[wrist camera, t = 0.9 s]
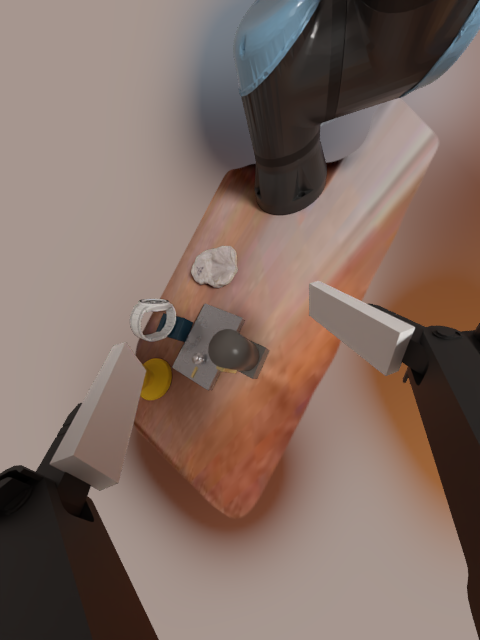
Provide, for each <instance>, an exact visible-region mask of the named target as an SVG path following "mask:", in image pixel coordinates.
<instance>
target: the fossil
mask: <svg viewBox="0 0 480 640" xmlns="http://www.w3.org/2000/svg"><path fill="white" fill-rule="evenodd" d="M237 271H238V268H237V254H236V252H235V250H234V249H233V248H232V247H231V246H221V247H218V248H216V249H214V248H213V249H210V250H206V251H204V252H203V253H201V254H200V255H198V256H197V257H196V260H195V263H194V264H193V266H192V270H191V274H192V275H193V277H194V280H195V281H196V282H198V283H199V284H200V285H202V284H209V285H211V286H213V287H214V288H215V287H216V288H221V287H223V285H227V284H229V283H230V282H231V281H232V280H233V278H234V276H235V274H236V273H237Z"/></svg>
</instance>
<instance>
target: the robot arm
mask: <svg viewBox="0 0 480 640" xmlns="http://www.w3.org/2000/svg"><path fill="white" fill-rule="evenodd" d="M479 29H480V0H256V1H255V2H254V3H253V5H252V6H251V7H250V8H249V10H248V11H247V13H246V14H245V16H244V17H243V19H242V21H241V23H240V24H239V27H238V29H237V32H236V35H235V39H234V47H233V52H234V61H235V66H236V71H237V77H238V83H239V93H240V95H241V97H242V101H243V106H244V110H245V114H246V119H247V124H248V128H249V132H250V137H251V141H252V145H253V149H254V154H255V159H256V171H255V195H256V199H257V203H258V205H259V206H260V208H261V209H262V210H264V211H266V212H268V213H271V214H276V215H284V214H290V213H294V212H297V211H299V210H301V209H304V208H305V207H307V206H309V205H310V204H311V203H313V202H314V201H315V200H316V199H317V198H318V197H319V196H320V194H321V193H322V191H323V190H324V187H325V184H326V176H327V166H326V162H325V158H324V154H323V150H322V146H321V142H320V124H321V123H323V122H326V121H329V120H331V119H334V118H338V117H341V116H344V115H346V114H350V113H353V112H356V111H359V110H362V109H365V108H368V107H371V106H374V105H378V104H381V103H384V102H387V101H390V100H393V99H397V98H401V97H404V96H406V95H407V94H409V93H411V92H412V91H414V90H417V89H419V88H422V87H424V86H426V85H428V84H430V83H432V82H434V81H435V80H436V79H438V78H439V77H440V76H442V75H443V74H444V73H445V72H446V71H447V70H448V69H449V68H450V67H451V66H452V65H453V64H454V63H455V61H457V59H458V58H459V57H460V55H461V54H462V53H463V52H464V51H465V49H466V48H467V47H468V45H469V44H470V43H471V41H472V40H473V38H474V37H475V36H476V34H477V33H478V31H479ZM309 316H311V317H312V318H313V319H315V320H316V321H317V322H318V323H320V324H321V325H322V326H323V327H325V328H326V329H327V330H328V331H330V332H331V333H332V334H333V335H335V336H336V337H337V338H338V339H340V340H341V341H342V342H343V343H345V344H346V345H347V346H348V347H350V348H351V349H352V350H354V351H355V352H356V353H357V354H359V355H360V356H361V357H362V358H364V359H365V360H366V361H367V362H369V363H370V364H371V365H372V366H374V367H375V368H376V369H377V370H379V371H380V372H381V373H382V374H384V375H385V376H387V375H389V374H392V373H394V372H397V371H399V368H400V366H401V363H402V362H403V363H404V364H406V365H407V366H408V368H407V371H406V373H405V375H404V378H403V382H404V383H405V382H406V381H407V378H409V380H410V384H411V386H412V390H413V393H414V396H415V399H416V402H417V406H418V409H419V412H420V415H421V418H422V421H423V425H424V428H425V431H426V434H427V438H428V441H429V444H430V447H431V450H432V453H433V456H434V460H435V463H436V466H437V469H438V473H439V476H440V479H441V482H442V485H443V489H444V492H445V495H446V498H447V501H448V505H449V508H450V511H451V514H452V518H453V521H454V524H455V527H456V530H457V534H458V537H459V540H460V543H461V546H462V549H463V553H464V556H465V559H466V563H467V567H468V585H467V591H468V600H469V604H470V609H471V613H472V616H473V620H474V623H475V627H476V630H477V634H478V637H479V640H480V323H479V325H478V326H477V328H476V330H473V331H462V332H460V331H458V330H456V329H453V328H449V327H445V326H429V327H424V326H422V325H420V324H417V323H415V322H413V321H411V320H409V319H407V318H405V317H402V316H400V315H398V314H397V315H396V313H394V312H391V311H388V310H387V309H385V308H383V307H381V306H378V305H373V304H366V303H364V302H362V301H360V300H358V299H356V298H354V297H352V296H349V295H347V294H345V293H343V292H341V291H339V290H337V289H335V288H333V287H331V286H329V285H327V284H325V283H322V282H320V281H316V282H313V283H310V284H309ZM145 373H146V370H145V368H144V367H143V365H142V364H141V362H140V361H139V360H138V358H137V357H136V355H135V354H134V353H133V351H132V350H131V348H130V347H129V345H128V344H127V343H126V342H123V343H120V344H117V345H114V346H113V348H112V349H111V352H110V353H109V355H108V357H107V359H106V360H105V363H104V364H103V366H102V368H101V370H100V372H99V374H98V375H97V377H96V379H95V381H94V383H93V384H92V386H91V388H90V390H89V392H88V394H87V395H86V397H85V399H84V401H83V403H80V404H78V406H76V408H75V409H74V410H73V411H72V412H71V413H70V414H69V416H68V417H67V419H66V421H65V423H64V424H63V428H61V429H60V431H59V433H58V435H57V437H56V438H55V440H54V442H53V443H52V445H51V447H50V448H49V450H48V452H47V454H46V455H45V457H44V459H43V461H42V462H41V464H40V466H39V467H38V469H37V471H36V472H34V471H32V470H30V469H28V468H26V467H24V466H22V465H19V466H13V467H11V468H9V469H7V470H5V471H3V472H2V473H0V640H159V639H158V638H157V635H156V633H155V631H154V629H153V627H152V625H151V623H150V621H149V618H148V616H147V614H146V612H145V610H144V608H143V606H142V604H141V602H140V600H139V598H138V596H137V594H136V591H135V589H134V587H133V585H132V583H131V581H130V579H129V577H128V574H127V572H126V570H125V568H124V566H123V564H122V562H121V560H120V558H119V556H118V554H117V552H116V549H115V547H114V545H113V543H112V541H111V539H110V537H109V535H108V533H107V530H106V529H105V526H104V525H103V522H102V520H101V518H100V516H99V514H98V512H97V510H96V507H95V505H94V503H93V501H92V500H91V499H90V498H89V497H87V495H88V492H89V489H90V486H92V487H94V488H95V489H97V490H99V491H100V490H103V489H105V488H108V487H110V486H113V485H115V484H118V483H119V479H120V475H121V471H122V467H123V463H124V459H125V455H126V451H127V447H128V442H129V439H130V434H131V431H132V426H133V422H134V418H135V414H136V410H137V406H138V402H139V398H140V394H141V390H142V386H143V382H144V377H145Z"/></svg>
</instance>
